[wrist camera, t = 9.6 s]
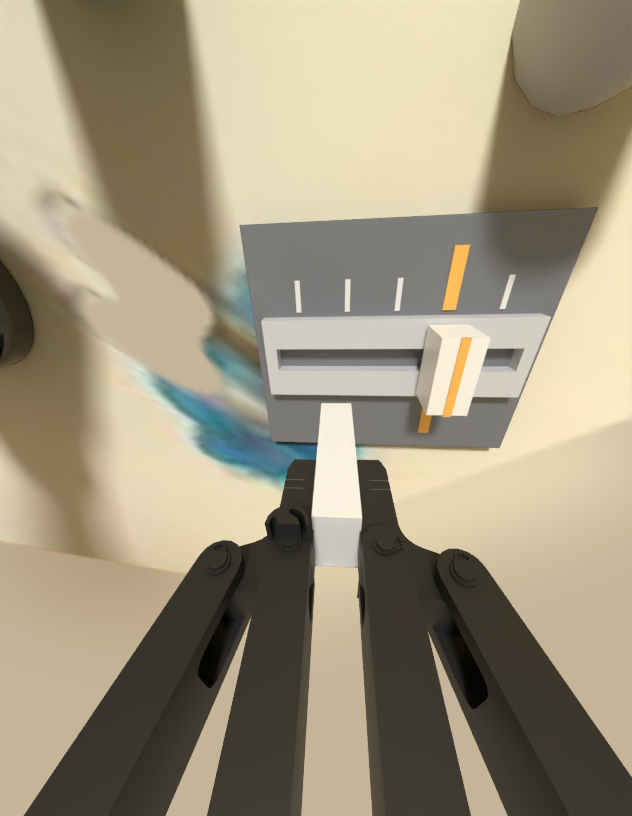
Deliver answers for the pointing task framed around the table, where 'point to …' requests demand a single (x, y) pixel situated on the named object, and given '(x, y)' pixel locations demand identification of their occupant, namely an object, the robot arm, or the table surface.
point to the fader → (450, 368)
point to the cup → (572, 52)
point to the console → (403, 315)
